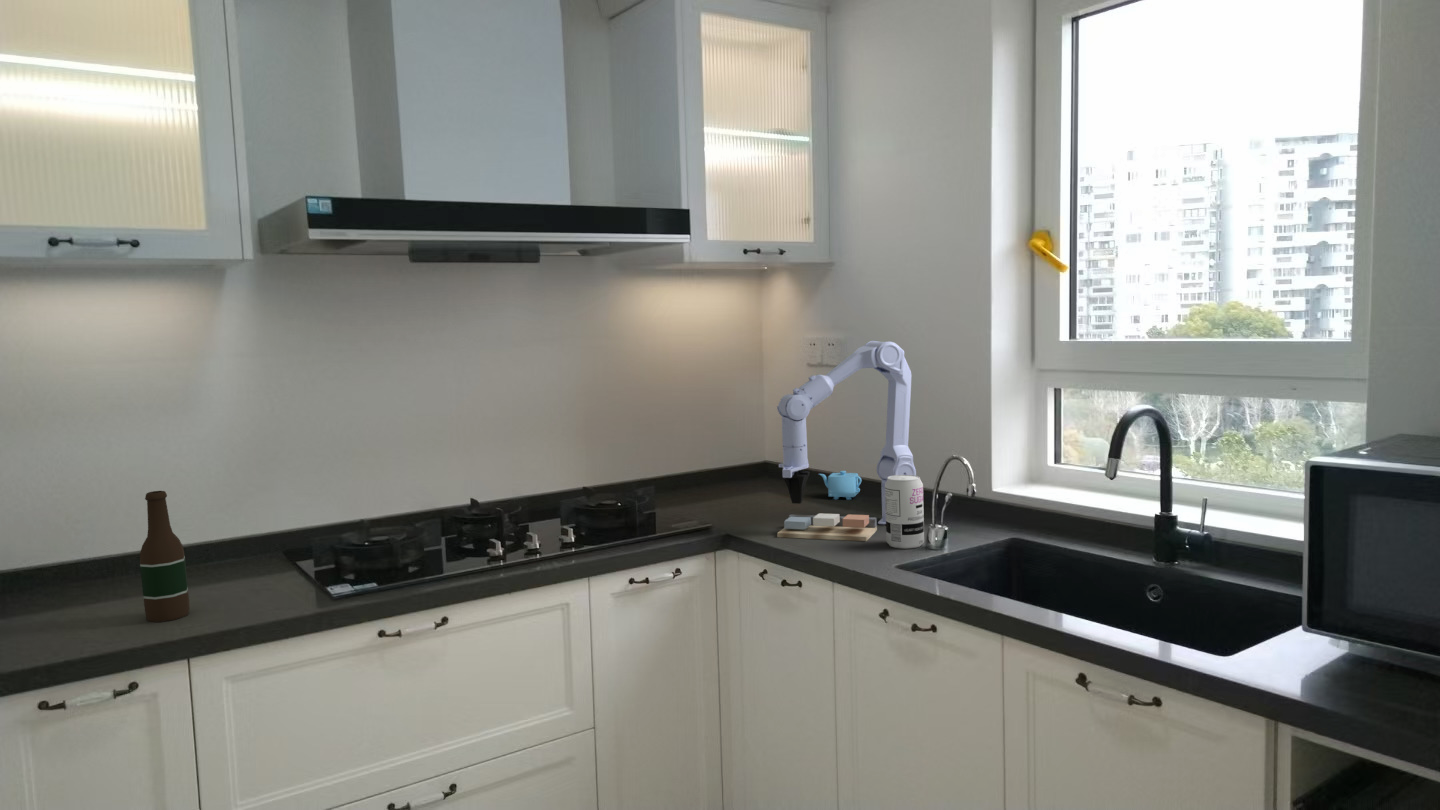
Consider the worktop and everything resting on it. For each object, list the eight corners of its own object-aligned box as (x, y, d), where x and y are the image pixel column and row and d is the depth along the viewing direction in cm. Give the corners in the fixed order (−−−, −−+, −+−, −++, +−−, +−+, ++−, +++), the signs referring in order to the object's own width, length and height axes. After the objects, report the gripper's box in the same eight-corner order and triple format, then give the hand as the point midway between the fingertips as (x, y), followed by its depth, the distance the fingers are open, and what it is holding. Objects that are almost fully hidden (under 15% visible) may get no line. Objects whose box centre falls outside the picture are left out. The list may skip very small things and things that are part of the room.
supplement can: (889, 539, 225) (887, 474, 223) (926, 540, 222) (924, 474, 221) (883, 548, 217) (881, 480, 216) (922, 549, 215) (920, 481, 213)
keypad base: (876, 530, 235) (876, 517, 234) (866, 541, 224) (866, 528, 224) (791, 526, 242) (790, 514, 242) (777, 537, 232) (776, 524, 232)
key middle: (839, 521, 234) (839, 514, 234) (834, 526, 229) (834, 518, 229) (819, 520, 236) (818, 513, 236) (813, 525, 231) (813, 517, 231)
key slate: (811, 524, 237) (810, 517, 236) (805, 529, 232) (804, 521, 232) (790, 523, 238) (790, 516, 238) (784, 528, 234) (784, 521, 234)
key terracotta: (869, 522, 231) (868, 515, 231) (864, 527, 227) (864, 519, 227) (848, 521, 233) (847, 514, 233) (842, 526, 229) (842, 519, 228)
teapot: (816, 499, 274) (815, 472, 273) (821, 495, 280) (820, 468, 279) (860, 500, 270) (859, 473, 269) (864, 496, 276) (863, 469, 275)
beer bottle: (199, 609, 194) (186, 487, 191) (178, 621, 186) (165, 494, 184) (158, 611, 193) (145, 489, 191) (136, 624, 186) (122, 496, 183)
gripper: (787, 441, 241) (789, 496, 243) (768, 450, 228) (771, 508, 229) (815, 441, 239) (817, 497, 240) (798, 450, 225) (800, 509, 227)
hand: (797, 502), depth 235 cm, fingers closed
